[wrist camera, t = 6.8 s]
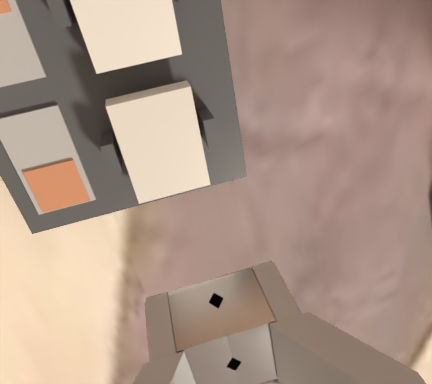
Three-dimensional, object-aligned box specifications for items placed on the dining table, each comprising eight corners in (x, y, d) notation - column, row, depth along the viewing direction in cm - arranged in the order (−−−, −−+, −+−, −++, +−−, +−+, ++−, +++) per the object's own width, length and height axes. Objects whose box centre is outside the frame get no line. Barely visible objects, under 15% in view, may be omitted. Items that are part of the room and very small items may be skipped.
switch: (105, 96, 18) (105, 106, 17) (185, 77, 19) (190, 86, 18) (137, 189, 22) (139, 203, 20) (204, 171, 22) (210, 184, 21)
